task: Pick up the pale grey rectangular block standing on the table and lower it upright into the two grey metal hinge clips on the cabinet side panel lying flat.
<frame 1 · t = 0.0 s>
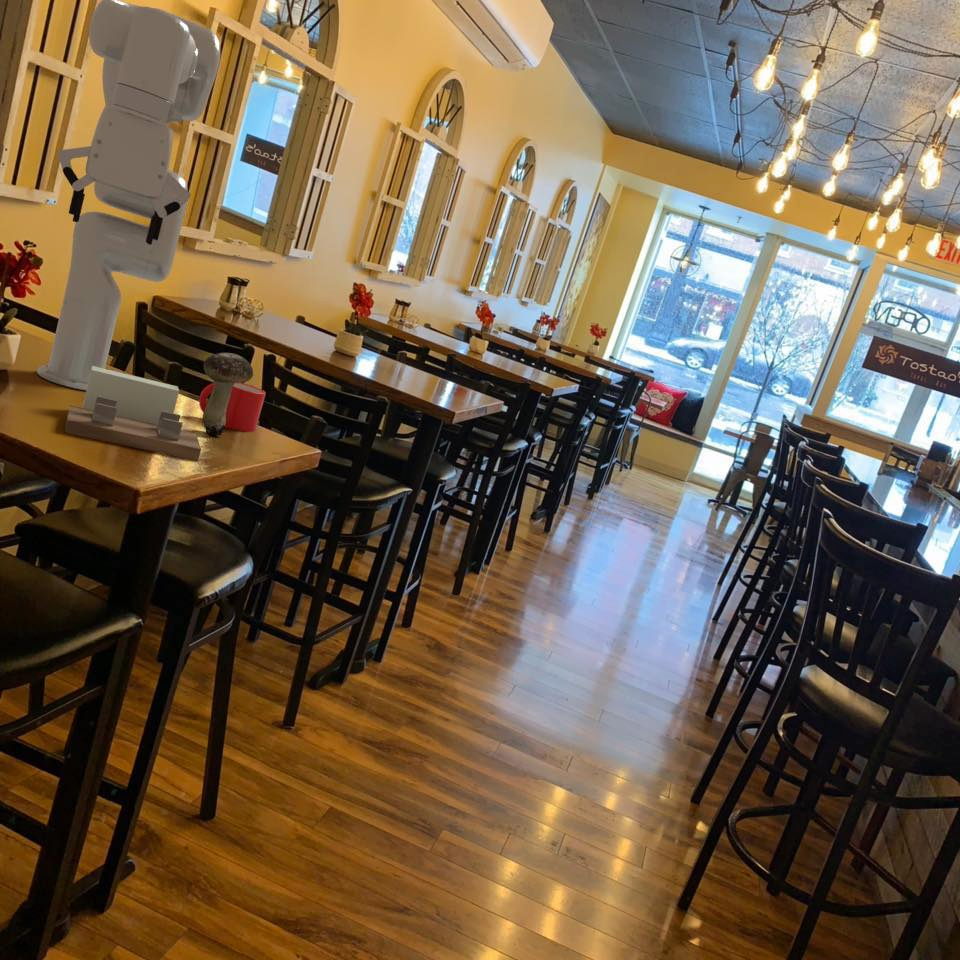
hand: (112, 232, 129), 31 cm above the table, fingers open, 9 cm apart
mushroom: (210, 434, 170), on the table
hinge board: (132, 438, 150), on the table
pale grey rectangular block: (124, 423, 158), on the table
mug: (225, 424, 182), on the table
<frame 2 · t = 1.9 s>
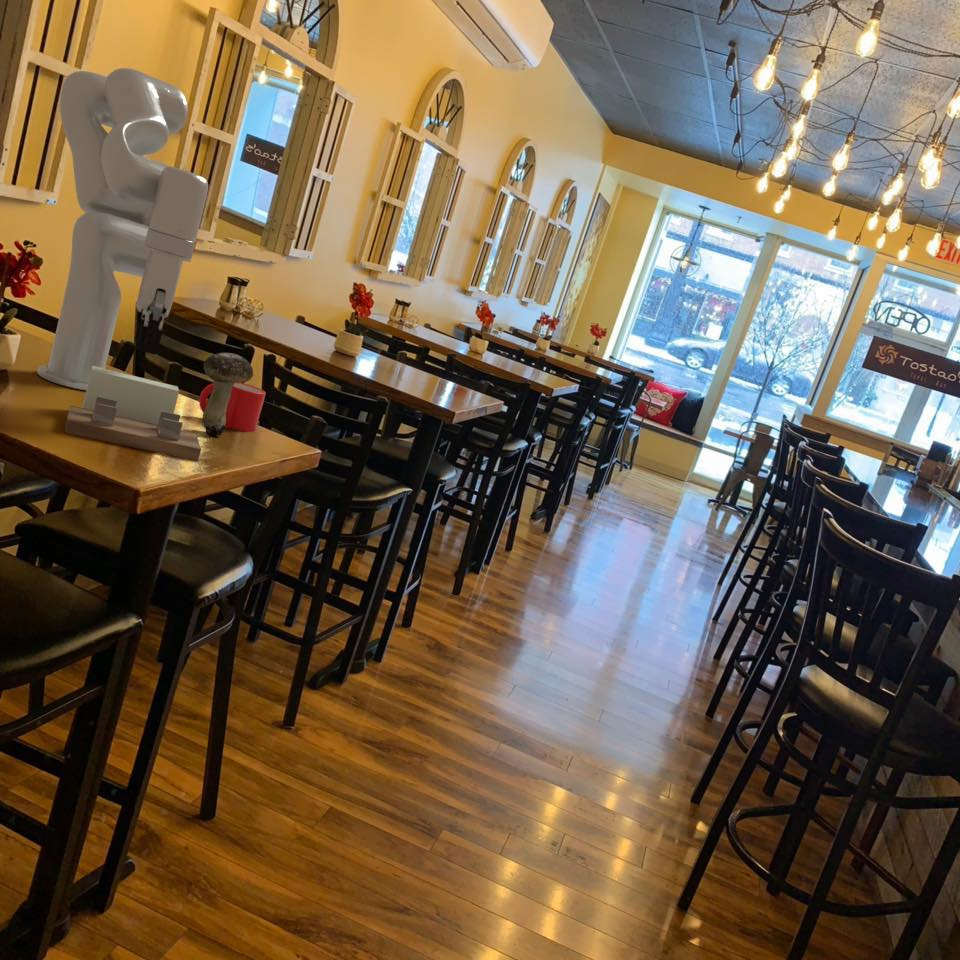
hand: (145, 347, 155), 13 cm above the table, fingers open, 9 cm apart
nothing on the table moved.
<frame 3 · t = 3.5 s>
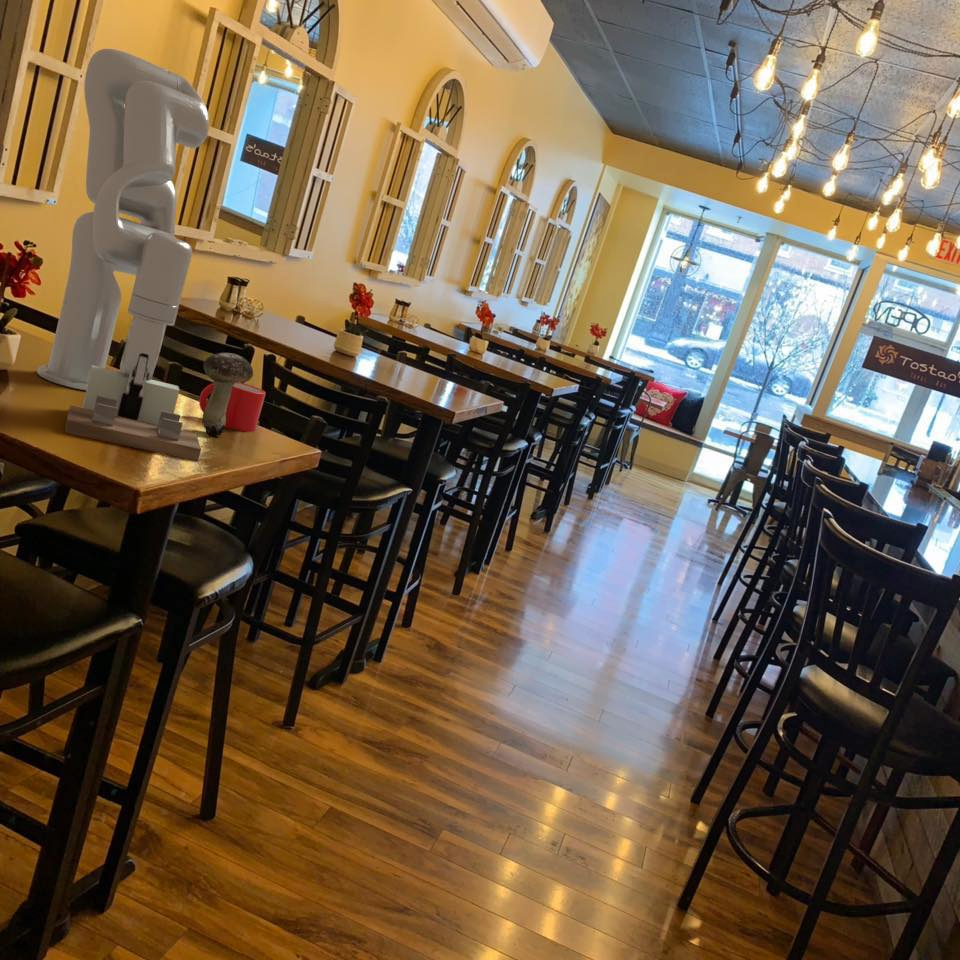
hand: (127, 414, 158), 2 cm above the table, fingers closed on pale grey rectangular block, 3 cm apart
pale grey rectangular block: (125, 422, 158), on the table, touching gripper
everything else where it was.
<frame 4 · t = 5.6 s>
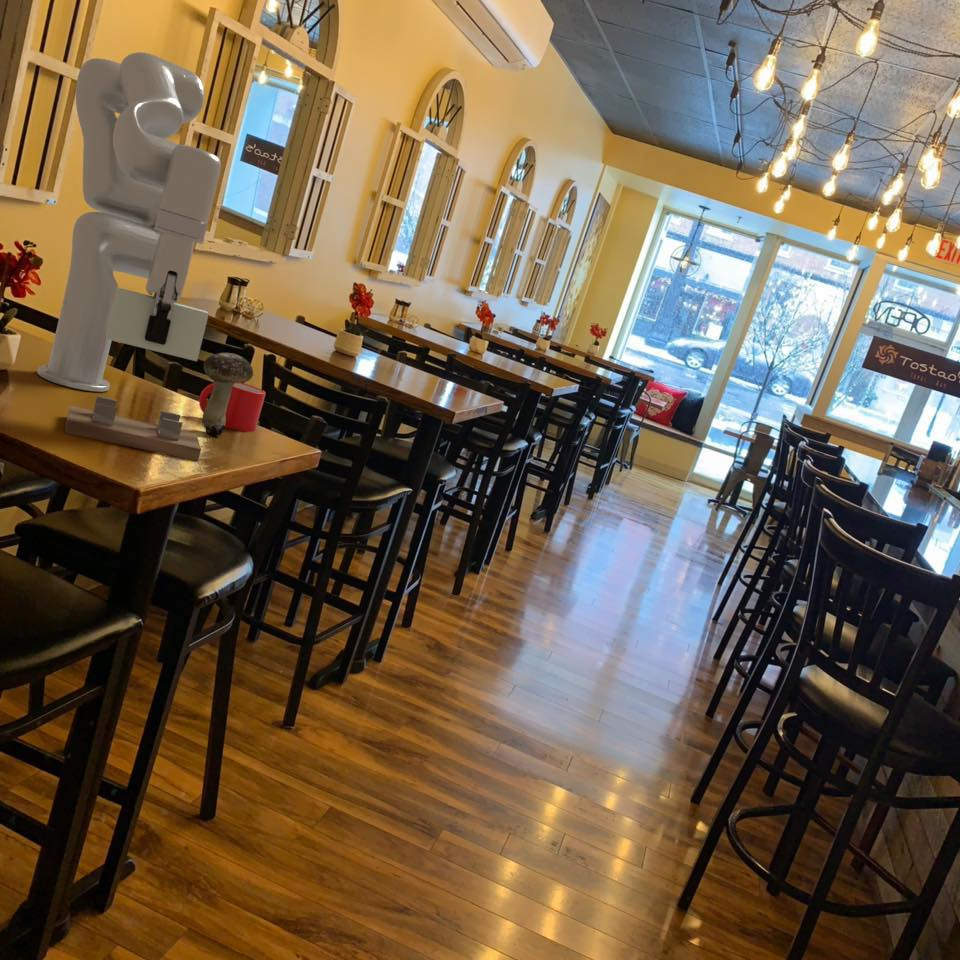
hand: (154, 339, 150), 16 cm above the table, fingers closed on pale grey rectangular block, 3 cm apart
pale grey rectangular block: (151, 348, 150), point 14 cm above the table, touching gripper
everything else where it was.
when the fingers open (4 cm above the table, at t = 7.9 s): pale grey rectangular block stays where it is, resting on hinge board.
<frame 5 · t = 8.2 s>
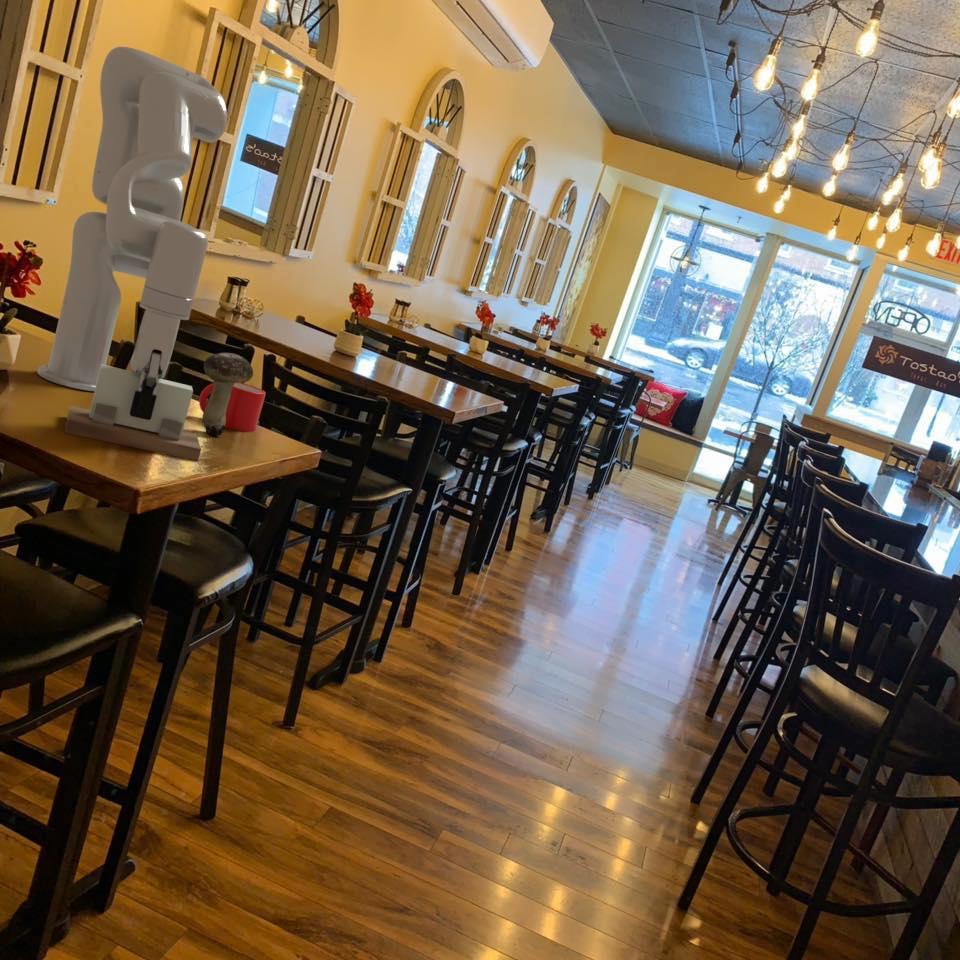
hand: (139, 411, 149), 5 cm above the table, fingers open, 6 cm apart
pale grey rectangular block: (135, 425, 150), point 2 cm above the table, touching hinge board
everything else where it was.
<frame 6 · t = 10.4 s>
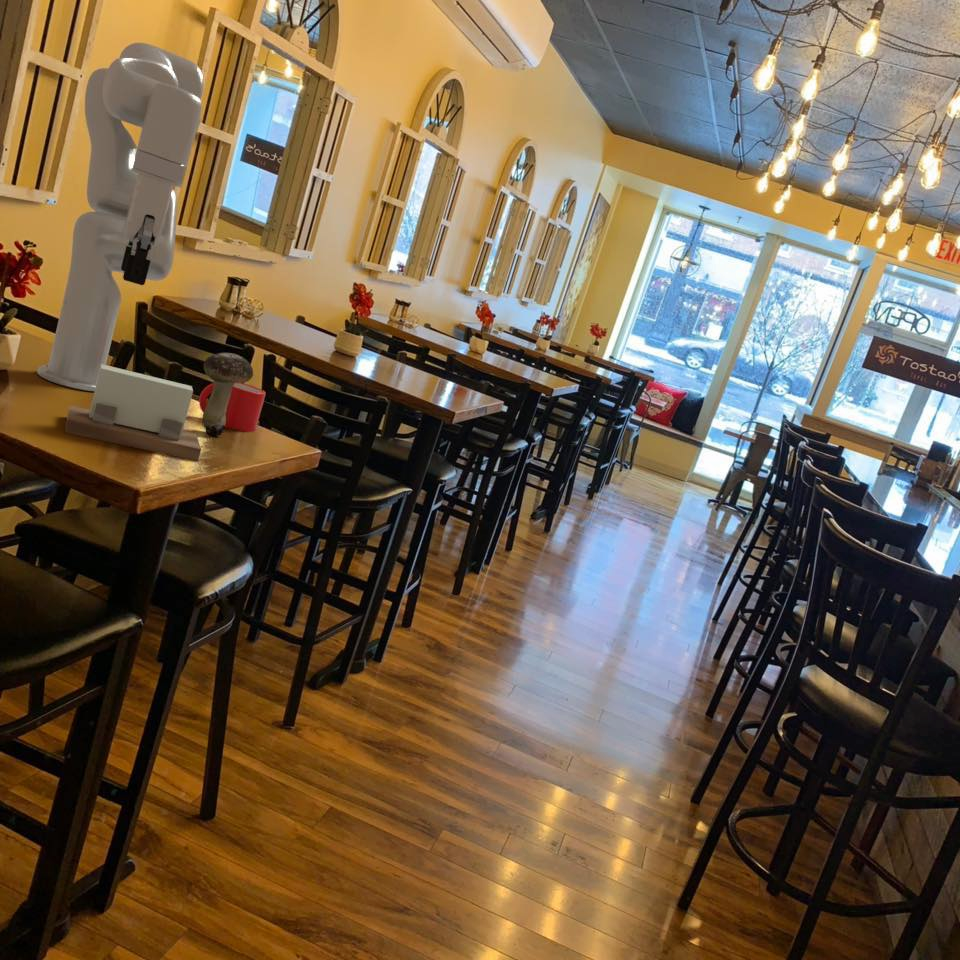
hand: (132, 277, 147), 24 cm above the table, fingers open, 9 cm apart
nothing on the table moved.
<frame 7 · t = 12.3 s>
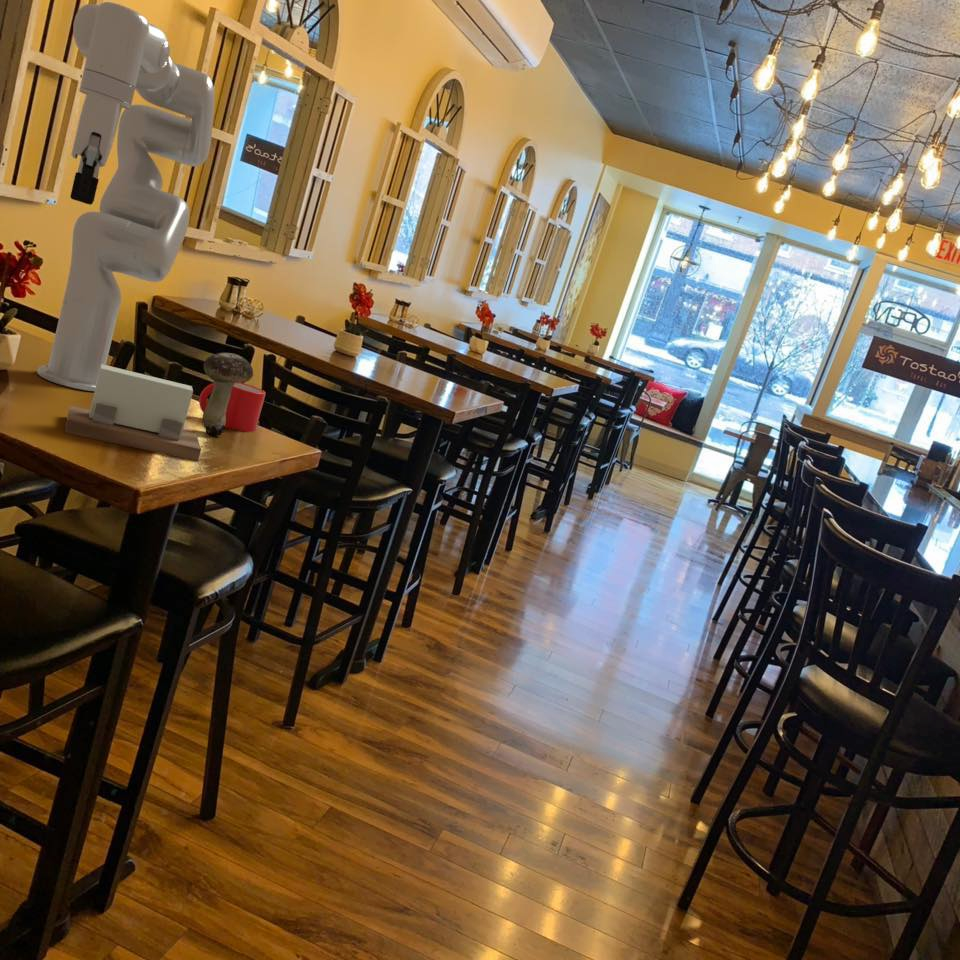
hand: (82, 200, 147), 33 cm above the table, fingers open, 9 cm apart
nothing on the table moved.
at the end: pale grey rectangular block 0.2 cm off-centre on the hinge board, point 2.3 cm above the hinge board's base; pale grey rectangular block tilted 0°; the gripper is holding nothing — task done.
